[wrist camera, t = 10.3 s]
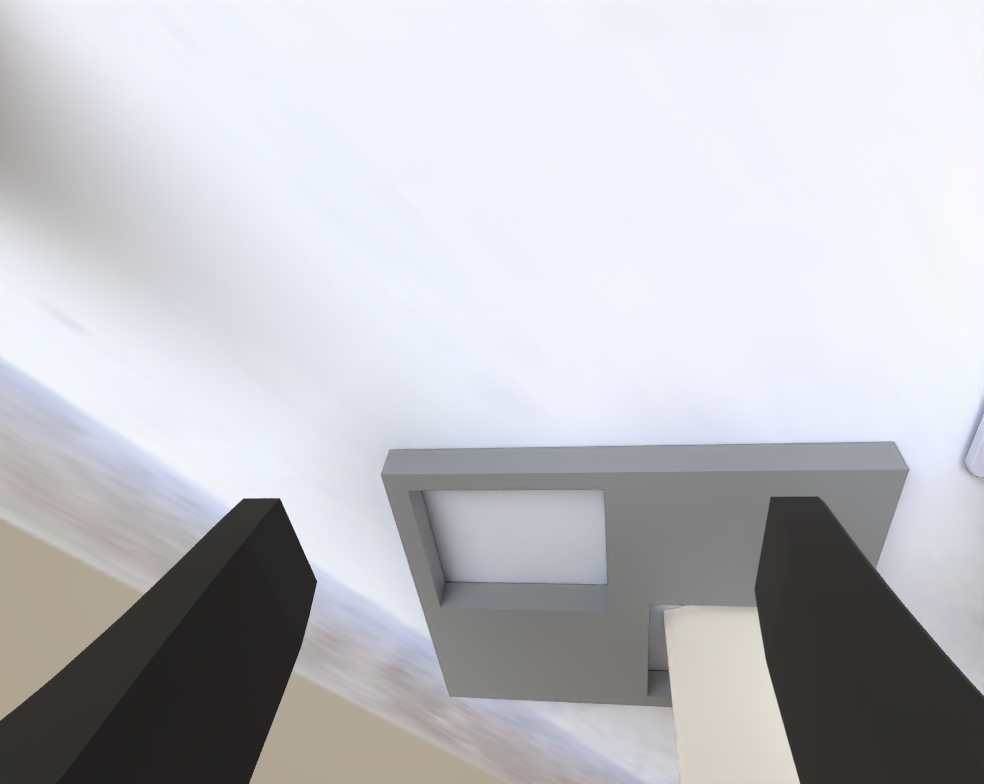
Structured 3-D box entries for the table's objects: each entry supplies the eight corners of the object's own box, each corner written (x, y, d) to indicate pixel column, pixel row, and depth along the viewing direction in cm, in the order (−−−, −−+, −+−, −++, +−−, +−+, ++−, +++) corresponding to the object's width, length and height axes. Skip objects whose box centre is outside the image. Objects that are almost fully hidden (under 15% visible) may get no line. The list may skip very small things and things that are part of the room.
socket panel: (894, 441, 20) (909, 469, 19) (818, 686, 29) (826, 714, 28) (389, 449, 23) (380, 474, 22) (453, 671, 31) (449, 696, 30)
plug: (765, 589, 25) (821, 817, 19) (793, 645, 27) (852, 869, 21) (663, 610, 27) (684, 828, 21) (697, 663, 29) (726, 876, 23)
